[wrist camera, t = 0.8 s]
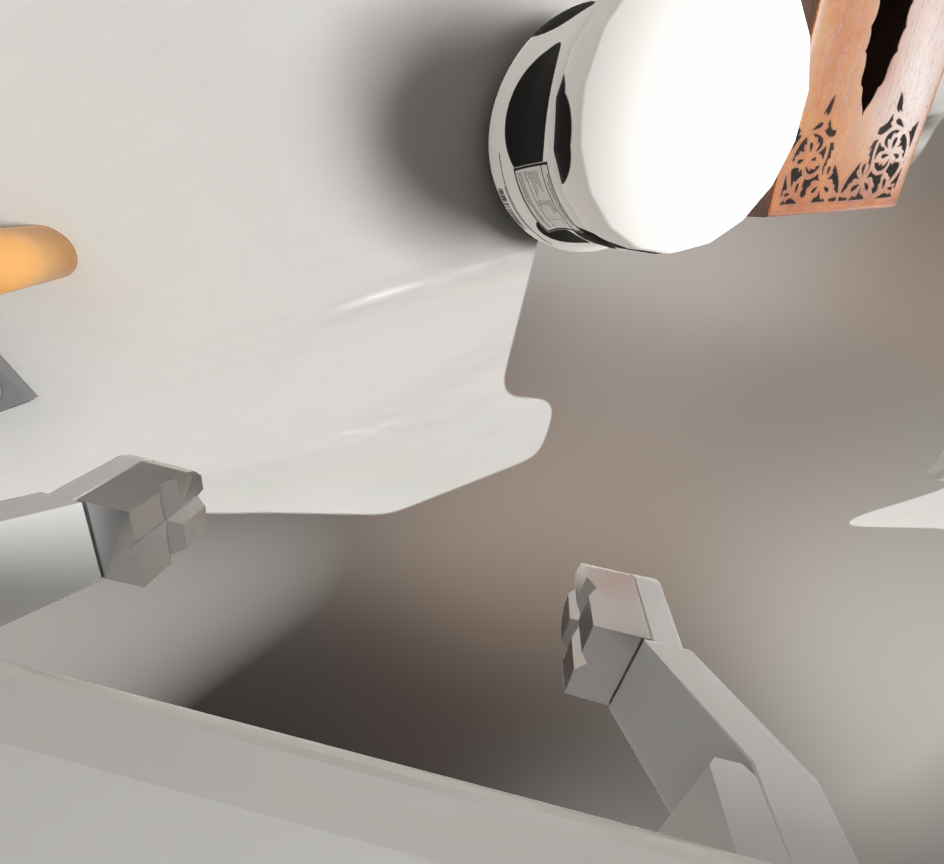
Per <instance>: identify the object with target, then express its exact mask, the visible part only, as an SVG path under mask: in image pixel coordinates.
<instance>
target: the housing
mask: <svg viewBox="0 0 944 864" xmlns="http://www.w3.org/2000/svg"><path fill="white" fill-rule="evenodd" d="M36 397H38V396H37V395H36V394H35V393H34V392H33V390H32V389H31V388H30V387H29V386H28V385H27V384H26V383H25V382H24V381H23V380H22V378H21V377H20V376H19V375H18V374H17V373H16V372H15V371H14V370H13V369H12V367H11V366H10V365H9V364H8V363H7V362H6V361H5V360H4V359H3V358H2V356H1V355H0V412H2V411H5V410H7V409H10V408H13V407H16V406H19V405H21V404H24V403H27V402H30V401H31V400H33V399H34V398H36Z"/></svg>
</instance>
